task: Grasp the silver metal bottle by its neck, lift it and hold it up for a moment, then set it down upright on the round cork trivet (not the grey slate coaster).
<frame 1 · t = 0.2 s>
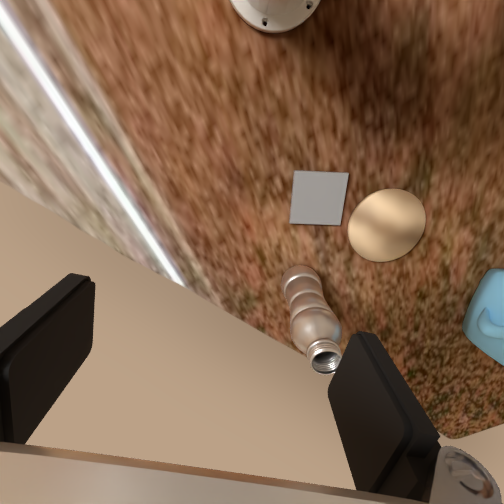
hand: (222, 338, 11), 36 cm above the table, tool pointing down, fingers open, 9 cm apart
teapot: (499, 290, 52), on the table
silver metal bottle: (298, 277, 51), on the table
slate coaster: (317, 198, 45), on the table
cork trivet: (384, 225, 47), on the table
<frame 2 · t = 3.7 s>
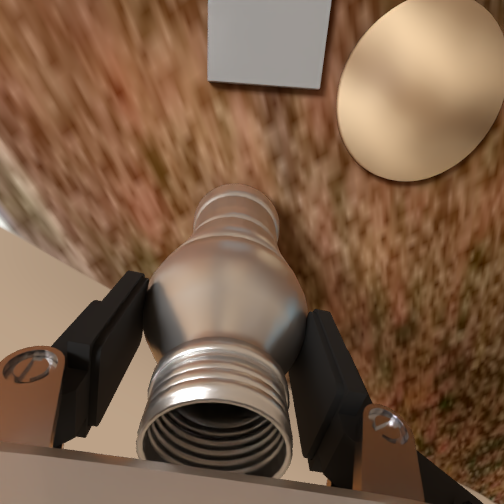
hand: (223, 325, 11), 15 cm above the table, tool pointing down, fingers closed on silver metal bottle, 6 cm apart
silver metal bottle: (237, 216, 25), on the table, touching gripper
slate coaster: (268, 19, 20), on the table
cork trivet: (416, 98, 22), on the table
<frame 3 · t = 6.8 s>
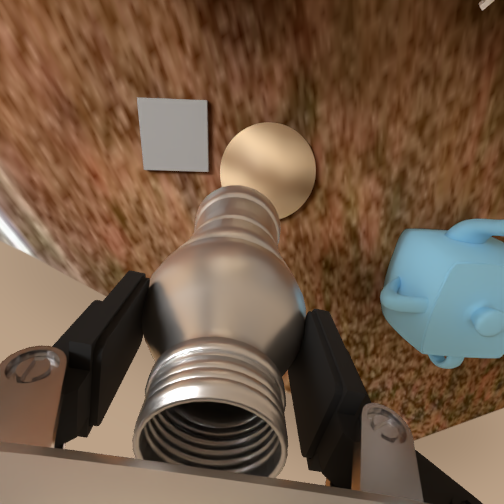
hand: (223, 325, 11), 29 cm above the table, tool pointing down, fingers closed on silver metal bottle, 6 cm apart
teapot: (425, 259, 42), on the table
silver metal bottle: (239, 217, 26), point 14 cm above the table, touching gripper
slate coaster: (175, 136, 36), on the table
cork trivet: (267, 173, 38), on the table
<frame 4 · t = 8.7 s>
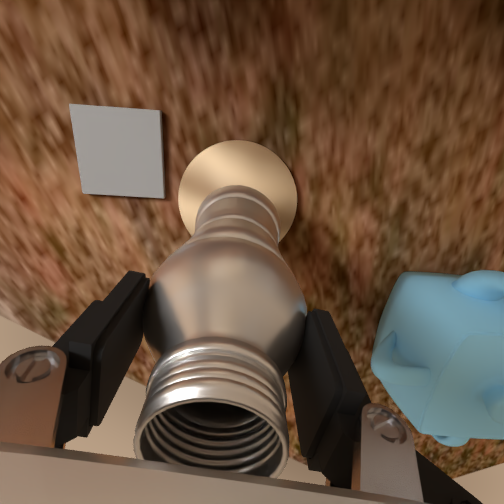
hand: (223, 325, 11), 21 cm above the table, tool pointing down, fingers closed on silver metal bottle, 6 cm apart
teapot: (425, 303, 36), on the table
silver metal bottle: (239, 217, 26), point 5 cm above the table, touching gripper
slate coaster: (122, 153, 29), on the table
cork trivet: (238, 201, 31), on the table
when the fingers open (17 cm above the table, at t = 10.3 s): silver metal bottle stays where it is, resting on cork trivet.
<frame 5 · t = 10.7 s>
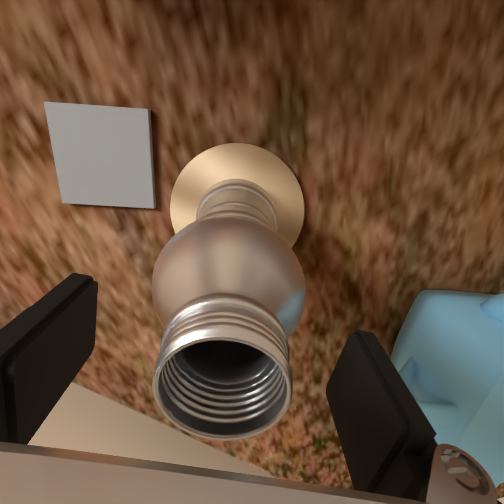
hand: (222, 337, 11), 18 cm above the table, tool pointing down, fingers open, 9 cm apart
teapot: (444, 323, 32), on the table
silver metal bottle: (238, 211, 26), point 1 cm above the table, touching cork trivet
slate coaster: (106, 158, 25), on the table
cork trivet: (237, 212, 27), on the table
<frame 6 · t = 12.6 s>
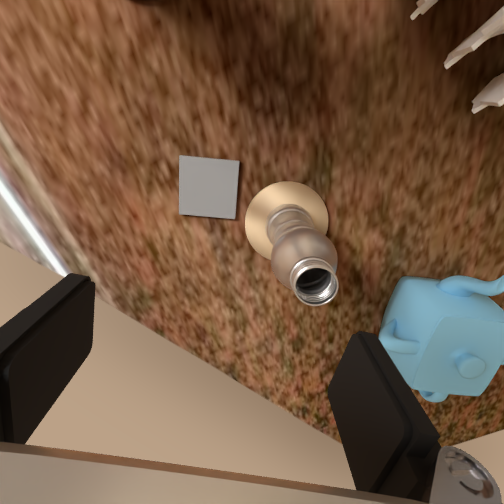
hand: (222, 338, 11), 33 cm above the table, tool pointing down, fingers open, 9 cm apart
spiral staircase: (468, 11, 34), on the table
teapot: (418, 301, 48), on the table
silver metal bottle: (286, 222, 42), point 1 cm above the table, touching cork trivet
slate coaster: (208, 187, 41), on the table
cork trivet: (286, 222, 43), on the table
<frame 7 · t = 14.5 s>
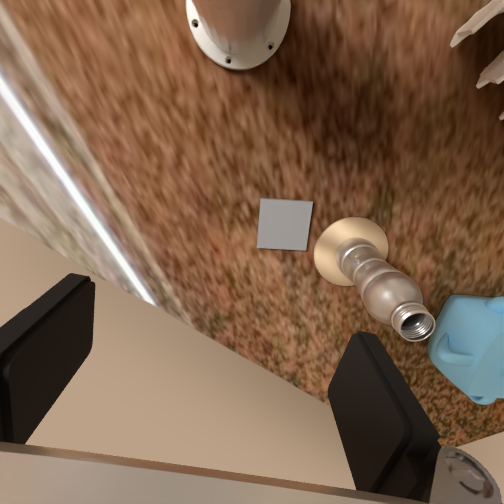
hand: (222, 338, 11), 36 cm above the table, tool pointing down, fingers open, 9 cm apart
teapot: (463, 314, 54), on the table
silver metal bottle: (351, 251, 48), point 1 cm above the table, touching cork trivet
slate coaster: (283, 224, 47), on the table
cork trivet: (349, 251, 49), on the table
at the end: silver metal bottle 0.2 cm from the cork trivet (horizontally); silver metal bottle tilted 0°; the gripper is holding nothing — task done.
